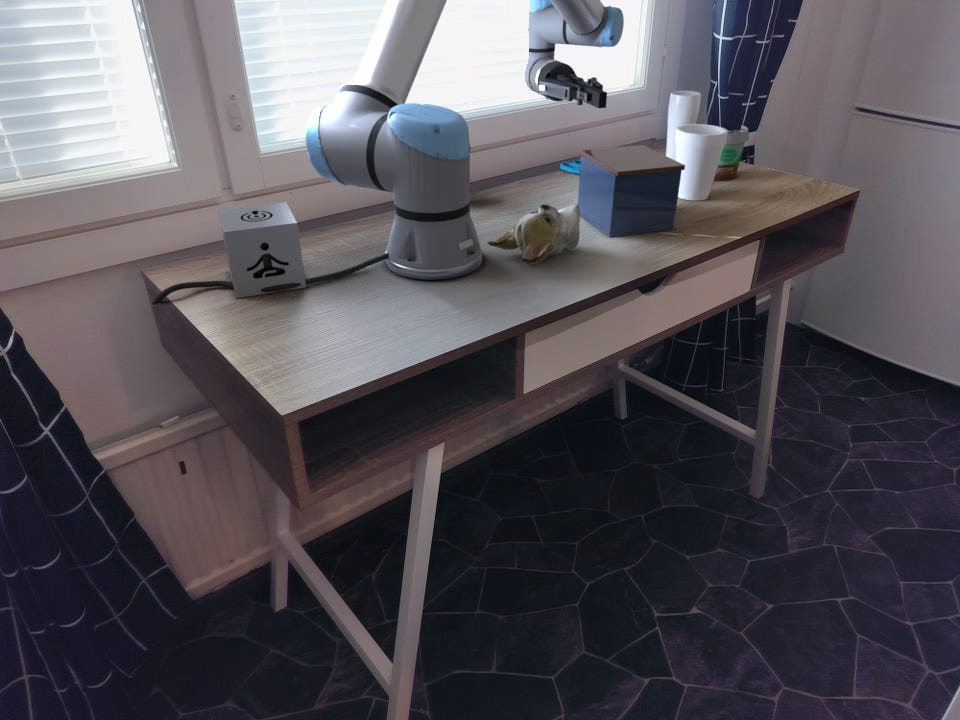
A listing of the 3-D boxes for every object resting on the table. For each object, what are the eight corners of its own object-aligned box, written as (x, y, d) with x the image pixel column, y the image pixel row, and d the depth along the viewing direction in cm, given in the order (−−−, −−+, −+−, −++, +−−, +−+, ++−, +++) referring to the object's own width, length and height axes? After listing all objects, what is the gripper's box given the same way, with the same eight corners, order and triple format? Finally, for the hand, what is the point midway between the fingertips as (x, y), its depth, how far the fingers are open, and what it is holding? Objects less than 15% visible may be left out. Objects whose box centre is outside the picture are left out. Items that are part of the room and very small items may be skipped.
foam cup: (721, 203, 139) (733, 135, 133) (673, 203, 139) (683, 135, 133) (709, 188, 147) (719, 124, 141) (664, 188, 148) (672, 123, 141)
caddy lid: (684, 169, 121) (685, 165, 120) (617, 176, 117) (618, 171, 117) (642, 149, 133) (643, 144, 132) (580, 154, 129) (581, 150, 129)
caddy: (673, 229, 127) (682, 168, 121) (609, 237, 124) (615, 175, 118) (636, 205, 138) (642, 149, 133) (576, 212, 135) (580, 155, 129)
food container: (706, 184, 150) (714, 136, 145) (689, 176, 155) (696, 129, 150) (754, 178, 154) (763, 130, 149) (735, 171, 159) (744, 124, 154)
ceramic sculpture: (600, 203, 112) (522, 226, 105) (598, 254, 116) (523, 279, 110) (558, 186, 119) (483, 207, 113) (558, 235, 124) (486, 258, 117)
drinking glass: (689, 157, 169) (698, 90, 161) (693, 165, 163) (704, 96, 155) (660, 156, 169) (668, 90, 162) (663, 164, 163) (672, 95, 156)
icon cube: (229, 272, 111) (217, 210, 106) (294, 263, 114) (286, 202, 109) (236, 298, 103) (223, 232, 98) (306, 287, 106) (297, 222, 101)
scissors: (580, 159, 163) (643, 181, 149) (580, 163, 164) (642, 185, 149) (557, 163, 160) (619, 186, 146) (557, 167, 161) (618, 191, 146)
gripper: (580, 96, 154) (632, 119, 135) (524, 100, 151) (569, 123, 131) (582, 59, 150) (636, 76, 131) (525, 62, 147) (571, 80, 128)
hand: (602, 100), depth 131 cm, fingers closed
